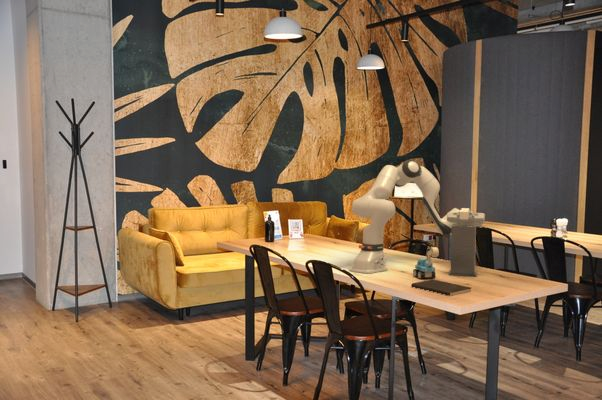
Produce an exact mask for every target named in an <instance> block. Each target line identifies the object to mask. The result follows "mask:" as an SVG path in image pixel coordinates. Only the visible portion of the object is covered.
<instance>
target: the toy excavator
mask: <svg viewBox="0 0 602 400" xmlns="http://www.w3.org/2000/svg"><path fill="white" fill-rule="evenodd" d="M439 255H440V251H439V248H438V247H436V246H435V247H434V246H433V247H432V246H431V247H430V250H428V251H427V252H426V257H423V258H422V257H420V258H418V259H417V262H416V265H415V267H414V269H413V270H412V275H413V277H416V278H418V279H419V280H423V279H424V278H427V279H428V278H430V279H436V267H435V266H434V263H433V262H432V258H438V257H439Z"/></svg>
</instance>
